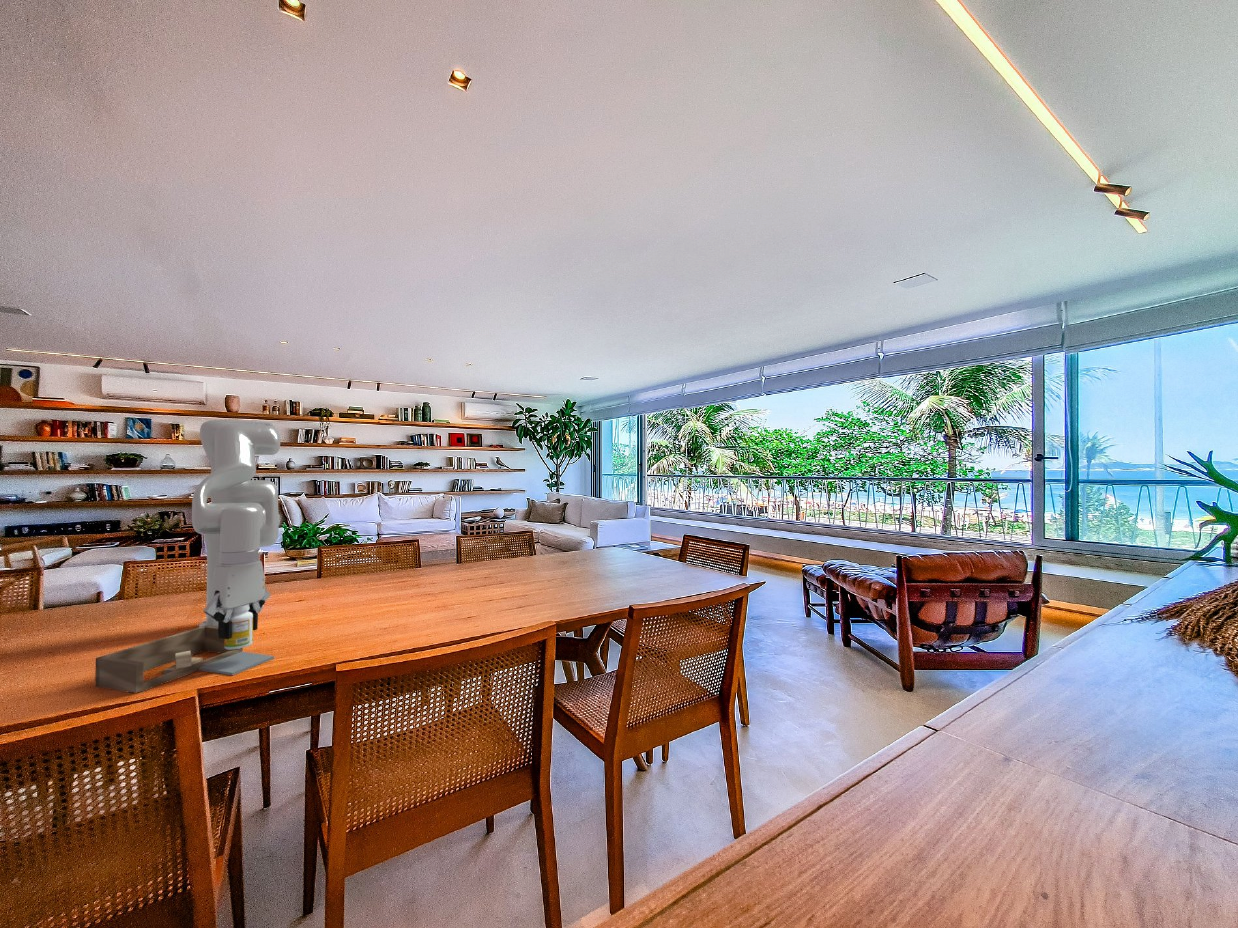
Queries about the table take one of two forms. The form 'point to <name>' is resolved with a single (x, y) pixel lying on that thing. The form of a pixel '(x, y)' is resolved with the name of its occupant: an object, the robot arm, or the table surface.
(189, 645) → the frame
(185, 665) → the offcut upper
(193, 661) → the offcut lower
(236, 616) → the supplement bottle
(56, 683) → the table surface
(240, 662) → the mat
